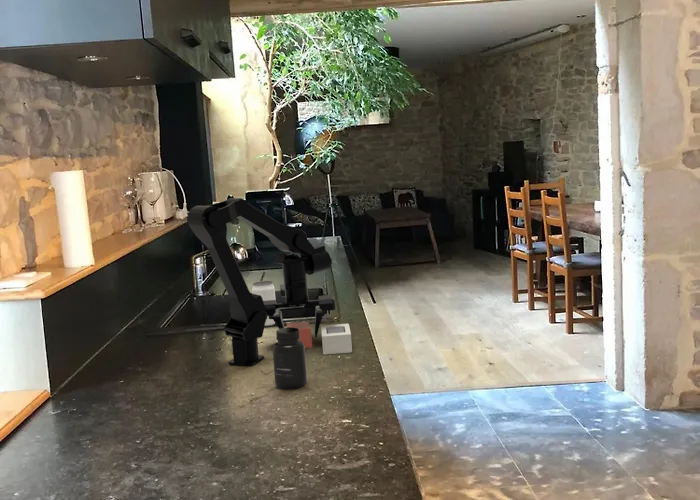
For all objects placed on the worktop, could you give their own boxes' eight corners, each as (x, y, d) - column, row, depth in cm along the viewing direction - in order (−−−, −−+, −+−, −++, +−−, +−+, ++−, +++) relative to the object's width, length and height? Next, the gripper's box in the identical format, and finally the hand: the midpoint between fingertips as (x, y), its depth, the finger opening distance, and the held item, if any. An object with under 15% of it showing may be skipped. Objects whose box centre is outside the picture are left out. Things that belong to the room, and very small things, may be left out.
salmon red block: (312, 347, 173) (310, 328, 172) (290, 350, 172) (288, 330, 171) (309, 340, 180) (308, 321, 179) (288, 342, 179) (286, 323, 178)
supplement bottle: (278, 392, 143) (273, 336, 141) (272, 382, 149) (268, 328, 147) (310, 387, 145) (306, 331, 143) (303, 377, 151) (299, 324, 149)
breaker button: (345, 344, 169) (344, 332, 168) (328, 345, 168) (327, 333, 168) (344, 338, 174) (343, 326, 173) (328, 339, 173) (327, 328, 173)
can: (250, 325, 197) (246, 284, 195) (263, 320, 203) (259, 280, 201) (269, 327, 194) (265, 285, 192) (281, 321, 200) (278, 280, 198)
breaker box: (352, 352, 166) (350, 334, 166) (323, 354, 166) (321, 336, 165) (349, 340, 176) (348, 323, 176) (322, 342, 176) (321, 325, 175)
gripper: (331, 269, 182) (336, 326, 184) (260, 275, 181) (266, 333, 183) (332, 277, 171) (337, 338, 173) (256, 284, 170) (263, 345, 172)
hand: (300, 338), depth 176 cm, fingers open, 7 cm apart
